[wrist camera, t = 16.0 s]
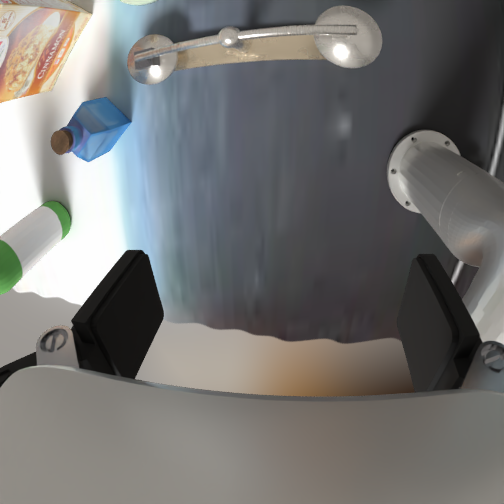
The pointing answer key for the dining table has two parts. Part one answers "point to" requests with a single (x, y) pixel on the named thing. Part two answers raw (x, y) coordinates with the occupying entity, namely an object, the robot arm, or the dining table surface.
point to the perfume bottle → (91, 130)
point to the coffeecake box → (36, 43)
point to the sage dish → (138, 2)
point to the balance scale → (263, 46)
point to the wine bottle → (31, 241)
